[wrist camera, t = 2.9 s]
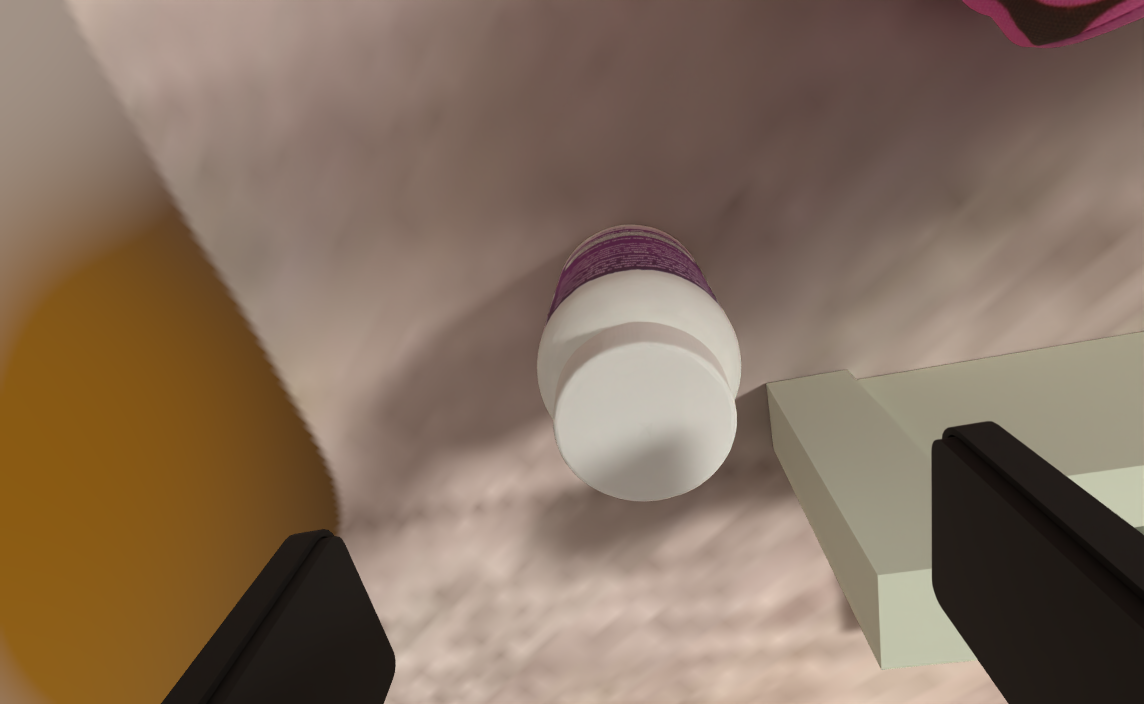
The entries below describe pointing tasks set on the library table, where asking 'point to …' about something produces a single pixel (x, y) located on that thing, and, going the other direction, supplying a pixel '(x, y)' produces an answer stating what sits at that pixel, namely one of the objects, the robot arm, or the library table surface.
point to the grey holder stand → (903, 466)
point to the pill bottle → (639, 366)
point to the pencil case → (1057, 19)
